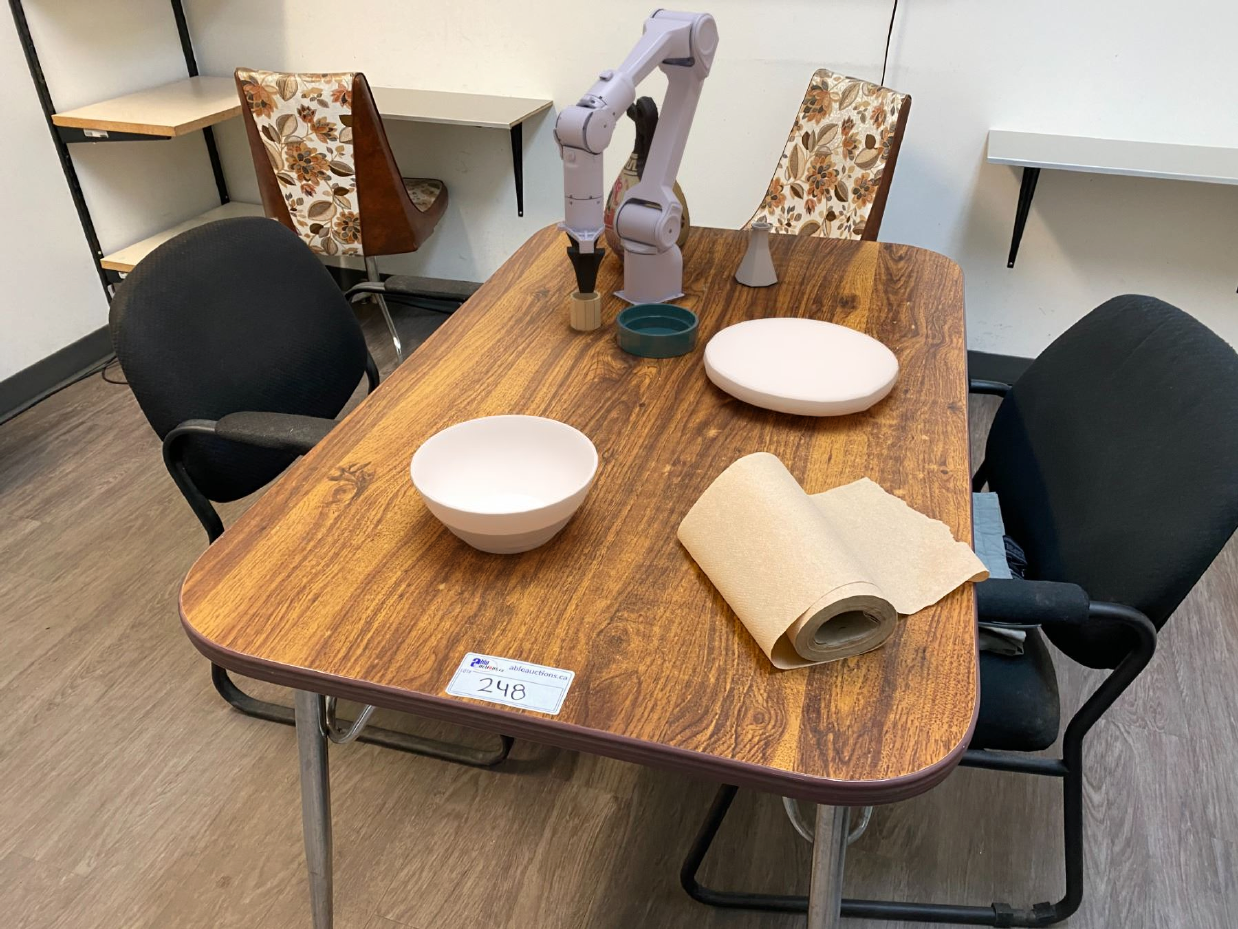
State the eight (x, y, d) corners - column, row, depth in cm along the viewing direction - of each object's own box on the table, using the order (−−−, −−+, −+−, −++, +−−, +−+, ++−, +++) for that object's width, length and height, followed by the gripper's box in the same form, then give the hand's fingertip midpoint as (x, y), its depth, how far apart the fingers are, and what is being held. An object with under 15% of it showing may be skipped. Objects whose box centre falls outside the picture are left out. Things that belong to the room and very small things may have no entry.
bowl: (509, 457, 111) (505, 397, 106) (635, 517, 100) (636, 453, 96) (380, 531, 98) (370, 466, 94) (509, 608, 88) (503, 539, 83)
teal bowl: (662, 321, 146) (663, 296, 143) (713, 348, 138) (715, 322, 135) (600, 340, 140) (600, 315, 137) (650, 369, 131) (651, 342, 129)
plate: (716, 304, 140) (895, 319, 135) (713, 344, 142) (888, 361, 138) (693, 365, 115) (911, 387, 111) (689, 412, 118) (902, 436, 113)
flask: (727, 276, 163) (731, 221, 158) (762, 270, 165) (767, 215, 160) (749, 290, 157) (754, 233, 152) (784, 284, 160) (790, 227, 155)
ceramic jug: (597, 255, 172) (595, 85, 156) (676, 250, 174) (683, 82, 158) (612, 288, 158) (613, 105, 142) (699, 282, 160) (709, 102, 144)
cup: (589, 319, 146) (588, 287, 144) (606, 329, 143) (606, 296, 140) (564, 326, 144) (563, 293, 141) (582, 336, 141) (581, 303, 138)
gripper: (555, 180, 138) (558, 266, 146) (557, 209, 126) (560, 301, 134) (602, 179, 139) (602, 265, 146) (607, 208, 127) (608, 300, 134)
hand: (585, 282), depth 140 cm, fingers open, 7 cm apart
